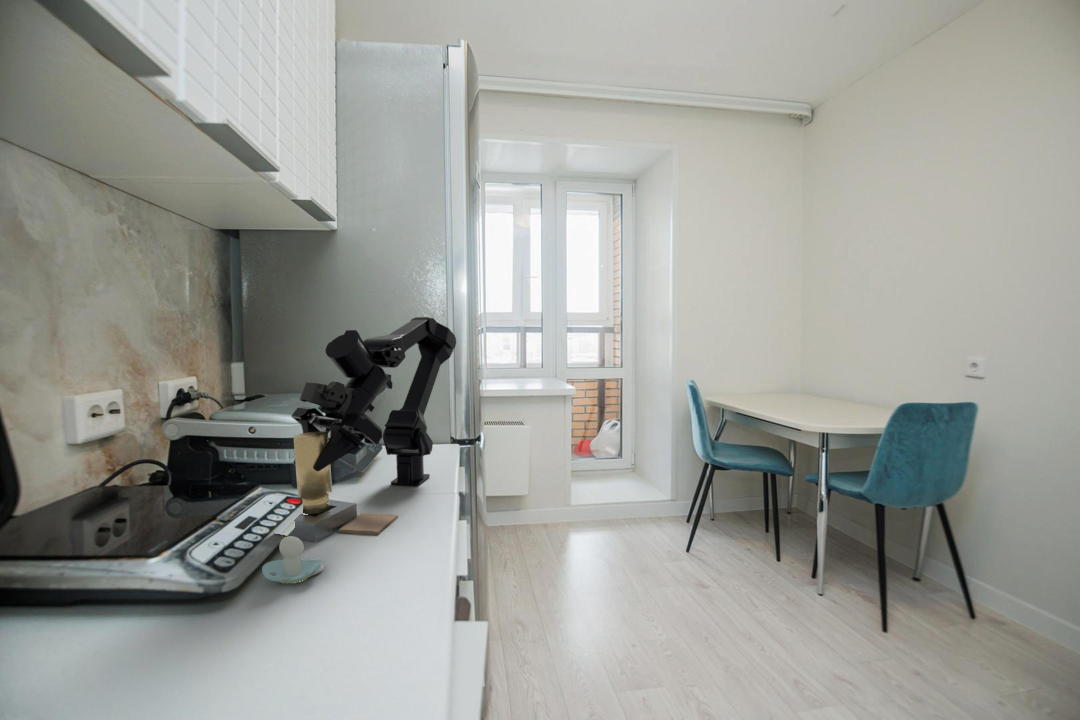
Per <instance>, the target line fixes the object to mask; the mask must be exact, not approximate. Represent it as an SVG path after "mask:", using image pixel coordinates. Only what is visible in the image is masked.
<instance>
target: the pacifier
mask: <svg viewBox="0 0 1080 720" xmlns="http://www.w3.org/2000/svg"><path fill="white" fill-rule="evenodd" d="M278 548H279V552H280V554H281V555H282V556H283V559H278V560H277V559H276V560H272V561H268V562H266V563H264V564H263V566H262V567H261V572H262V575H263V576H264V577H265V579H268V580H269V581H273V582H280V583H282V584H285V583H287V584H288V583H292V584H295V583H294V582H299V581H302V580H305V581H307V580H308V579H309V578H310V577H312V576H315V575H317V574H320V573H321V572H322V571H324V568H325V565H324V564H323V558H315V559H302V557H301V555H302V554H303V552H304V549H305V547H304V543H303V541H302V540H301V539H299V538H297V537H294V536H287V537H286V536H284V537H283V538H282V539H281V541H280V543H279V547H278ZM308 577H309V578H308ZM307 578H308V579H307ZM306 579H307V580H306ZM302 582H303V581H302ZM299 583H300V582H299Z"/></svg>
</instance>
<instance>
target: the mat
mask: <svg viewBox="0 0 1080 720" xmlns="http://www.w3.org/2000/svg"><path fill="white" fill-rule="evenodd" d="M398 518H399V515H398V514H389V513H375V512H373V513H372V512H360V513H359V514H357V518H355V519H353V520H351V521H349V522H348V523H347V524H345V525H344V526H343V527H341V528H340V529H339V530H338V533H342V534H343V533H344V534H347V533H348V534H361V535H362V534H363V535H377V536H378V535H380V534H381V533H382V532H383V531H384V530H386V528H388V527H389V526H390V525H391V524H392V523H393V522H394V521H396V520H397V519H398Z"/></svg>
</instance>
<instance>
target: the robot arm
mask: <svg viewBox="0 0 1080 720" xmlns="http://www.w3.org/2000/svg"><path fill="white" fill-rule="evenodd" d="M360 335H361V334H360V333H359V332H358V331H357V329H351V330H350V329H347V330H345V332H344V334H341V335H338V336H337V337H335V338H334V339H332V340H331V341H330V342H328V343H327V345H326V347H325V354H326V355H327V357H328V358H329V360H330V361H331V362H332V363H333V364H334V366H335V367H336V368H337V369H338V371H339V372H340V373H341V374H342V375H343V376H344V377H345V378H348V381H347V382H346V384H344V383H341V382H339V381H330V382H329V383H328V385H327V384H322V383H319V382H318V383H317V382H308V381H307V382H305V384H304V386H303V389H302V392H301V395H300V397H299V401H301V402H303V403H306V402H307V403H310V404H314V405H316V406H318V407H317V408H316V407H310V406H301V407H300V406H299V407H297V408H296V410H295V411H293V413H292V414H291V415H290V416H291V418H292V419H293V420H294V421H296V422H297V423H298V424H299V425H300V426H301V429H302V434H303V433H309V432H319V431H324V432H328V434H329V433H330V436H329V437H328V440H329V441H328V442H327V444H326V446H325V447H324V449H323V451H322V452H321V454H320V456H319V457H318V459H317V461H316V463H315V464H314V466H313V469H314V470H316V471H320V470H322V469H323V468H325V467H326V466H328V465H330V466H331V464H333V463H334V462H336V461H337V460H339V459H341V458H343V457H344V456H346V455H347V454H350V453H351V452H353V451H355V450H357V449H359V448H363V447H364V443H365V444H366V445H369V446H374V447H375V446H376V447H377V446H378V444H379V443H380V441H381V439H382V440H383V445H384V448H385V451H386V455H387V456H390V455H391V456H392V455H395V457H396V478H394V479H393V480H391V481H390V485H398V486H399V485H401V486H420V485H421V484H422V483H424V481H426V480H427V479H429V478H430V473H425V472H424V471H425V468H424V467H425V466H424V457H425V456H428V455H431V454H432V453H431V452H432V451H433V447H434V446H433V445H434V444H433V443H434V441H433V440H432V438H431V437H430V435H429V434H428V433H427V430H428V426H427V423H426V420H425V419H426V418H425V412H426V410H427V406H428V404H429V401H430V398H431V395H432V392H433V389H434V387H435V386H434V385H435V383H436V381H437V377H438V374H439V371H440V368H441V367H442V364H444V363H445V362H446V361H447V360H449V359H450V358H451V356H452V355H453V354H452V353H453V352H454V349H455V348H456V345H457V339H456V338H457V337H456V335H455V333H454V332H452V330H451V329H450V328H449V327H448V326H445V325H443V324H441V323H439V322H437V321H436V320H435V318H434V317H431V316H416V317H414V318H411V320H410V321H409V322H407V323H405V324H404V325H402V326H400V327H399V328H397V329H395V330H393V331H392V332H391V333H389V334H385V335H380V336H374V337H370V338H365V339H364V340H362V338H361V336H360ZM416 344H417V347H418V351H419V354H420V359H419V362H418V364H417V367H416V369H415V370H416V371H415V373H414V375H413V377H412V378H413V379H412V381H411V383H410V387H409V388H408V391H407V394H406V397H405V399H404V403H403V404H402V407H401V408H400V409H392V410H390V412H389V415H388V418H387V421H386V423H385V424H384V429H382V428H381V426H379V425H378V424H377V423H376V422H375V421H374V420H372V418H371V417H369V416H368V415H367V414H366V413H367V412H368V413H372V412H374V411H373V410H374V409H375V406H374V405H373V402H374V401H375V400H376V398H377V397H378V395H379V394H380V393H381V392H382V390H383V388H385V389H388V390H392V389H393V381H392V375H391V374H389V373H386V372H385V371H384V369H385V368H386V369H387V368H389V369H393V368H394V369H395V368H398V367H399V366H400V365H401V363H403V361H404V360H405V358H406V352H407V351H408V350H409V349H410V348H412V347H413V346H415V345H416ZM383 368H384V369H383ZM323 413H324V414H323ZM363 440H364V443H362V442H363ZM293 464H294V465H295V466H296V463H295V459H294V460H293Z"/></svg>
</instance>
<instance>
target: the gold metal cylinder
mask: <svg viewBox="0 0 1080 720" xmlns="http://www.w3.org/2000/svg"><path fill="white" fill-rule="evenodd" d="M328 438H329V433H328V432H324V431H319V432H309V433H303V432H302V433H299V434H295V435H294V436H293V447H294V448H293V449H294V460H295V463H296V465H295V474H296V475H295V476H296V488H297V490H296V491H297V498H299V499H302V500H301V501H302V504H303V513H305V514H316V513H320V512H323V511H326V510H328V509H329V499H330V497H329V495H330V494H331V493H332V492H333V486H332V484H333V483H332V481H333V480H332V472H331V464H330V465H328V466H326V467H325V468H323V469H322V470H320V471H316V470H314V469H313V466H314V464H315V463H316V461H317V459H318V457H319V456H320V454H321V452H322V451H323V449H324V447H325V446H326V444H327V442H328V441H329V440H328Z"/></svg>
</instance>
